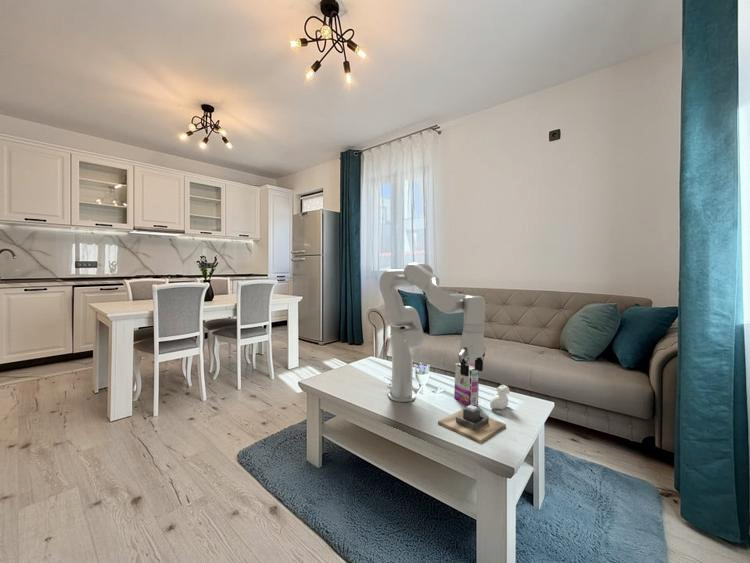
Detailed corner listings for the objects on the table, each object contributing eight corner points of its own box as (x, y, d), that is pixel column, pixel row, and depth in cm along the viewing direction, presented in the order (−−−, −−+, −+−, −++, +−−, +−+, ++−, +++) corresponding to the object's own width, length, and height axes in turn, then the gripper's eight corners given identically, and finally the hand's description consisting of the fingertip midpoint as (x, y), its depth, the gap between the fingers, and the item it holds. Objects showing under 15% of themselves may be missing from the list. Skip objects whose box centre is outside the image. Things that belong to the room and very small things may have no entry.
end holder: (437, 423, 120) (438, 415, 120) (464, 410, 132) (464, 403, 132) (480, 442, 107) (480, 434, 107) (505, 426, 118) (505, 419, 118)
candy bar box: (478, 405, 138) (479, 368, 137) (469, 407, 136) (470, 369, 135) (462, 396, 148) (463, 362, 148) (453, 398, 146) (454, 363, 146)
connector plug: (463, 422, 120) (463, 406, 119) (469, 418, 122) (470, 403, 122) (473, 426, 116) (473, 410, 116) (480, 423, 119) (480, 407, 119)
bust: (494, 417, 132) (511, 400, 127) (480, 402, 136) (497, 385, 131) (505, 408, 140) (521, 393, 135) (492, 394, 144) (508, 379, 139)
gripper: (477, 324, 127) (475, 366, 128) (451, 329, 116) (450, 374, 116) (494, 327, 122) (492, 371, 122) (469, 332, 110) (467, 380, 111)
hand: (471, 372), depth 119 cm, fingers open, 9 cm apart
